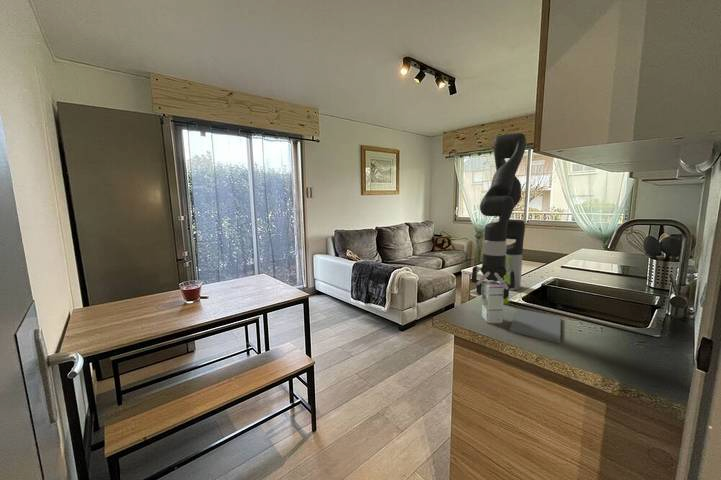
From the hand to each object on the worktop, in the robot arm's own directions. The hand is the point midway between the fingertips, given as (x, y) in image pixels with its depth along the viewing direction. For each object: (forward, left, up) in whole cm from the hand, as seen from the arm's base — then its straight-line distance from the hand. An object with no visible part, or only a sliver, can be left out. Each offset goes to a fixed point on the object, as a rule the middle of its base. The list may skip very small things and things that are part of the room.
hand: (491, 296), depth 104 cm
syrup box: (-1, 0, -10) cm, 9 cm away
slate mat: (-4, +14, -9) cm, 17 cm away
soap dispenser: (-22, 0, -9) cm, 24 cm away
